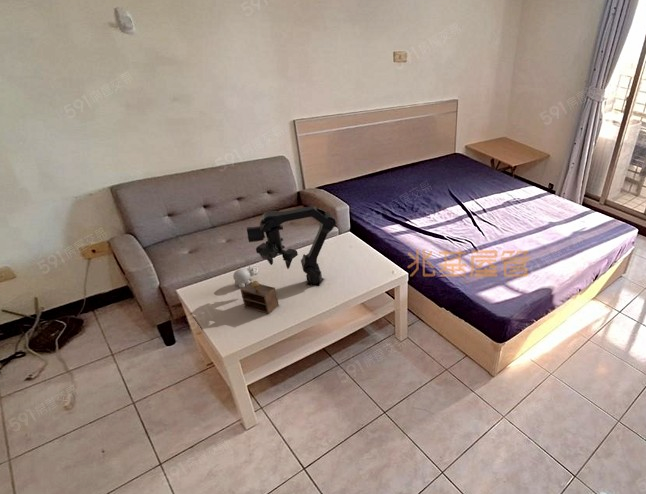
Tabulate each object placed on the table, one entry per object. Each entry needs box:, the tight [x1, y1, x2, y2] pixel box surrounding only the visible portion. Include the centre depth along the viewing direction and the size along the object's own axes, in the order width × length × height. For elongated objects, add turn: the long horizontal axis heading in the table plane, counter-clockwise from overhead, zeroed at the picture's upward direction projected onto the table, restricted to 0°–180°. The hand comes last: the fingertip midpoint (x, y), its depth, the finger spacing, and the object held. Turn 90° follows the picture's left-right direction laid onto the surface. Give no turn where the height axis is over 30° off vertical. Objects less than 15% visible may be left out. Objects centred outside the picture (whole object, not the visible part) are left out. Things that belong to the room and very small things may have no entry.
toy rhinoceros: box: [232, 265, 259, 289], centre depth 204 cm, size 7×12×8 cm, turn 144°
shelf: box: [239, 280, 280, 315], centre depth 187 cm, size 14×13×7 cm
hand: (280, 266), depth 197 cm, fingers open, 9 cm apart
